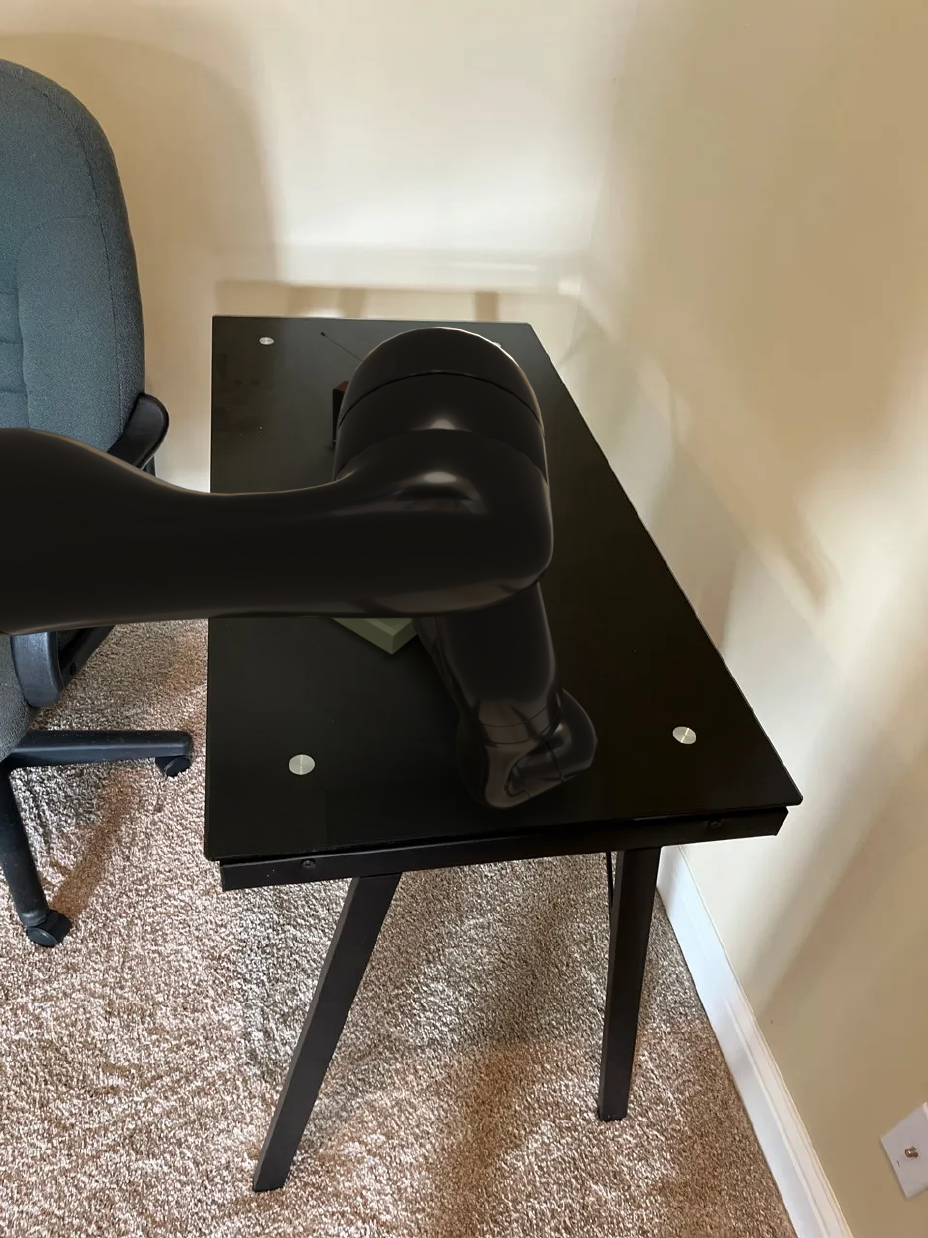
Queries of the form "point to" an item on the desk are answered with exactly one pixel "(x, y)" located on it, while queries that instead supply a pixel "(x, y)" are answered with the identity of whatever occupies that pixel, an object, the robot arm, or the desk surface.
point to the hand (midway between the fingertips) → (398, 506)
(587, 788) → the desk surface
